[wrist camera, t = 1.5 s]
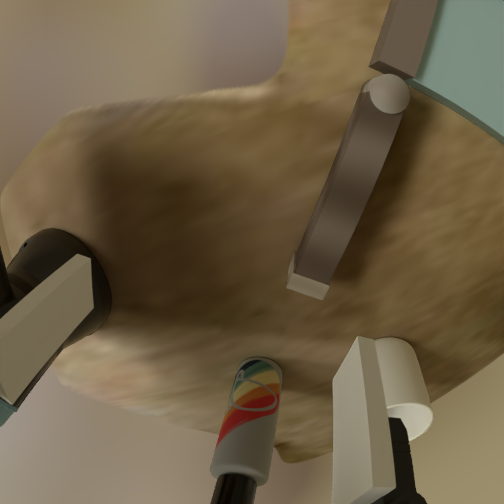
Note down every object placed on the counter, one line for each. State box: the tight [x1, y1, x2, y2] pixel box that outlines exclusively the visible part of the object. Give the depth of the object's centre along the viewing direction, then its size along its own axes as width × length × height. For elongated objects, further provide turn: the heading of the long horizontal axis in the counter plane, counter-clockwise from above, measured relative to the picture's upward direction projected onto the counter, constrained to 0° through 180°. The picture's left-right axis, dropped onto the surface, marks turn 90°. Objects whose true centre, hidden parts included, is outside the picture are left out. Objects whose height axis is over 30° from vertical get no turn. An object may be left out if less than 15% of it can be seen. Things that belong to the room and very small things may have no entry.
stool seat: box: [369, 0, 504, 144], centre depth 17 cm, size 20×16×4 cm
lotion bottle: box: [210, 357, 282, 504], centre depth 30 cm, size 6×6×20 cm
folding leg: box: [286, 74, 410, 301], centre depth 25 cm, size 19×3×4 cm, turn 162°
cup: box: [374, 337, 433, 441], centre depth 31 cm, size 8×12×10 cm
